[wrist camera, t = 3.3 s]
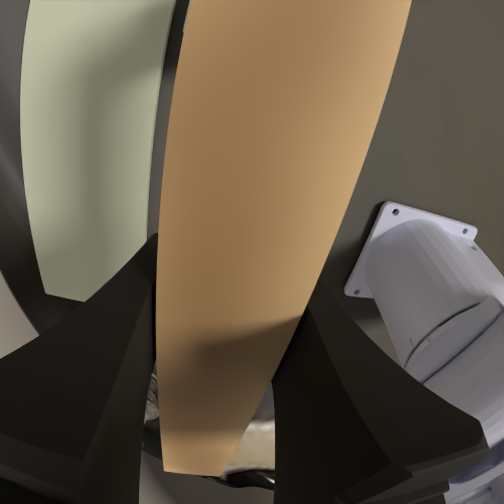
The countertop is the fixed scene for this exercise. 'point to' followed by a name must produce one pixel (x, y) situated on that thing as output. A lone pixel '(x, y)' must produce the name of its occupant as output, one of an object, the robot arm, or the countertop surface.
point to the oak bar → (255, 197)
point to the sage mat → (89, 134)
